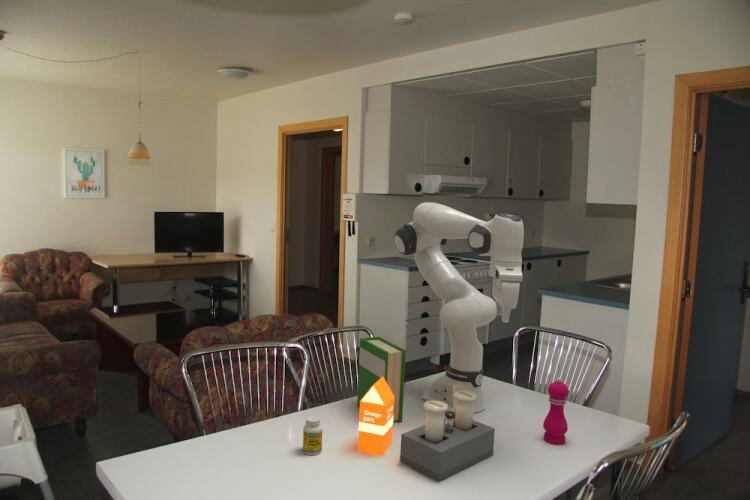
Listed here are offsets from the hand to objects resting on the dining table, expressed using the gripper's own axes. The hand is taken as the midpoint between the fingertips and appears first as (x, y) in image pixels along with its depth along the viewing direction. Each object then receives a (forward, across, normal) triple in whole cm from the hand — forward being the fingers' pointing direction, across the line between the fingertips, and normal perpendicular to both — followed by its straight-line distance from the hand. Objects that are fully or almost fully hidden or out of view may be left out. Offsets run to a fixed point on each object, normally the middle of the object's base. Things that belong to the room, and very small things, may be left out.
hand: (502, 318), depth 163 cm
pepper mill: (+39, -9, +20) cm, 45 cm away
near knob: (+32, +13, -19) cm, 39 cm away
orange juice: (+39, +4, -35) cm, 53 cm away
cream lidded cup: (+32, +3, -10) cm, 33 cm away
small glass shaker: (+31, +8, -14) cm, 35 cm away
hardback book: (+39, -21, -34) cm, 56 cm away
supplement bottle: (+40, +9, -52) cm, 66 cm away
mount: (+39, +8, -14) cm, 42 cm away
